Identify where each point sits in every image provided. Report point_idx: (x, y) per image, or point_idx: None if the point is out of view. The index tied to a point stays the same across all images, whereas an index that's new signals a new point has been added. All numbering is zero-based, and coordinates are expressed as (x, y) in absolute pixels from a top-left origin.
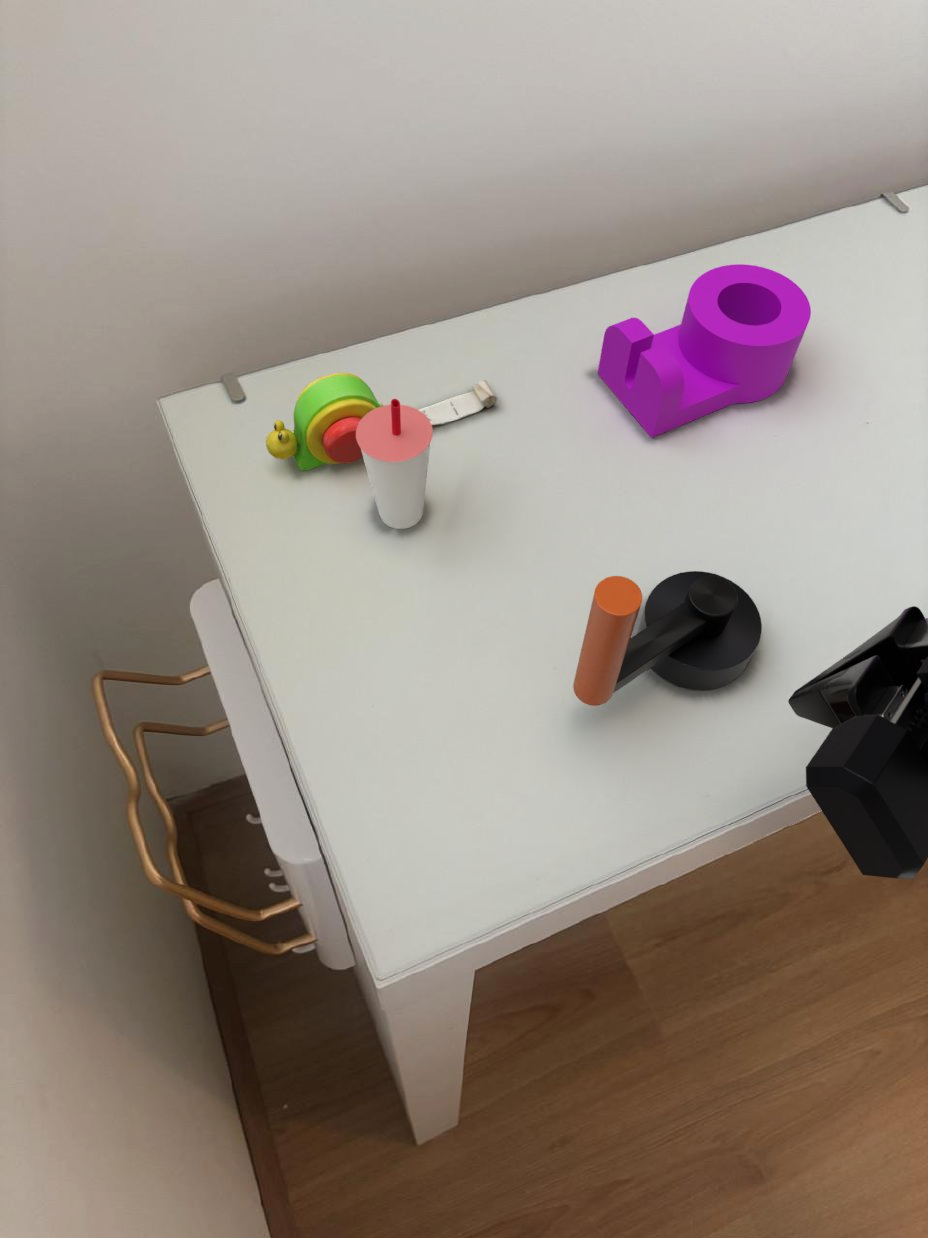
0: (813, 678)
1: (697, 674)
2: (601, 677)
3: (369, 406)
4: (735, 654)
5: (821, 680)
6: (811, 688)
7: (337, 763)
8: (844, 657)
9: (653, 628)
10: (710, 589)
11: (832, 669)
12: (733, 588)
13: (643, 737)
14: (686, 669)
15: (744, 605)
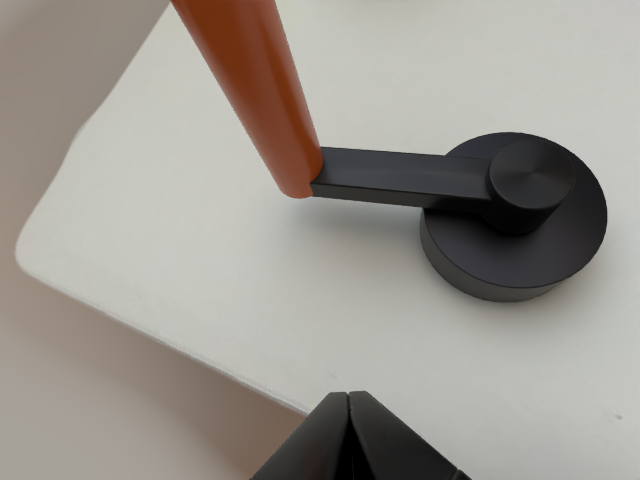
0: (389, 413)
1: (440, 256)
2: (256, 148)
3: None
4: (503, 272)
5: (360, 445)
6: (318, 434)
7: (129, 101)
8: (456, 477)
9: (416, 159)
10: (535, 163)
11: (388, 462)
12: (572, 184)
13: (340, 270)
14: (430, 241)
15: (585, 229)
